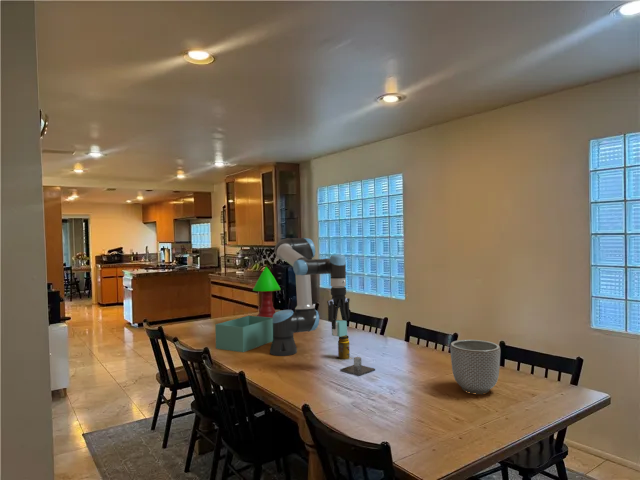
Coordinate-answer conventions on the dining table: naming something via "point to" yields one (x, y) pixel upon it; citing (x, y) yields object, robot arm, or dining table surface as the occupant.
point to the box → (244, 333)
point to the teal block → (341, 328)
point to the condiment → (343, 349)
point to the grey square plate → (357, 368)
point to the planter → (475, 364)
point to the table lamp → (266, 292)
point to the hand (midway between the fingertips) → (339, 334)
